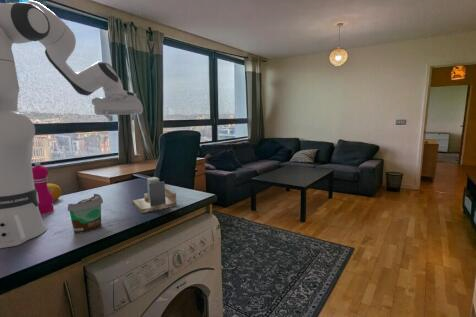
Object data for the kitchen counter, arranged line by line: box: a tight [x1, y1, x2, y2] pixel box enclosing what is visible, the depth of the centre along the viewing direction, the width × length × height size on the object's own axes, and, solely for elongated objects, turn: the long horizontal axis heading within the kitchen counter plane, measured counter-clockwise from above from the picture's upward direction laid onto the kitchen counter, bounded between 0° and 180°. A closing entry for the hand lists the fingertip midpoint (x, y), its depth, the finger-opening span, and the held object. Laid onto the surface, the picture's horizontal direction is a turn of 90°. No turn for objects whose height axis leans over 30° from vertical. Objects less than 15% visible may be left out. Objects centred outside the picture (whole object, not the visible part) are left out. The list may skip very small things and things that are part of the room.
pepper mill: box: [32, 161, 55, 215], centre depth 106 cm, size 7×7×20 cm
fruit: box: [47, 182, 62, 202], centre depth 120 cm, size 9×8×8 cm
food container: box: [67, 193, 104, 234], centre depth 90 cm, size 12×6×10 cm, turn 168°
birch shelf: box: [132, 186, 177, 214], centre depth 113 cm, size 14×14×6 cm
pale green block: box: [146, 176, 160, 202], centre depth 111 cm, size 4×5×10 cm
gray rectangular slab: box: [149, 181, 166, 206], centre depth 108 cm, size 6×1×9 cm, turn 124°
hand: (122, 119), depth 119 cm, fingers open, 8 cm apart
